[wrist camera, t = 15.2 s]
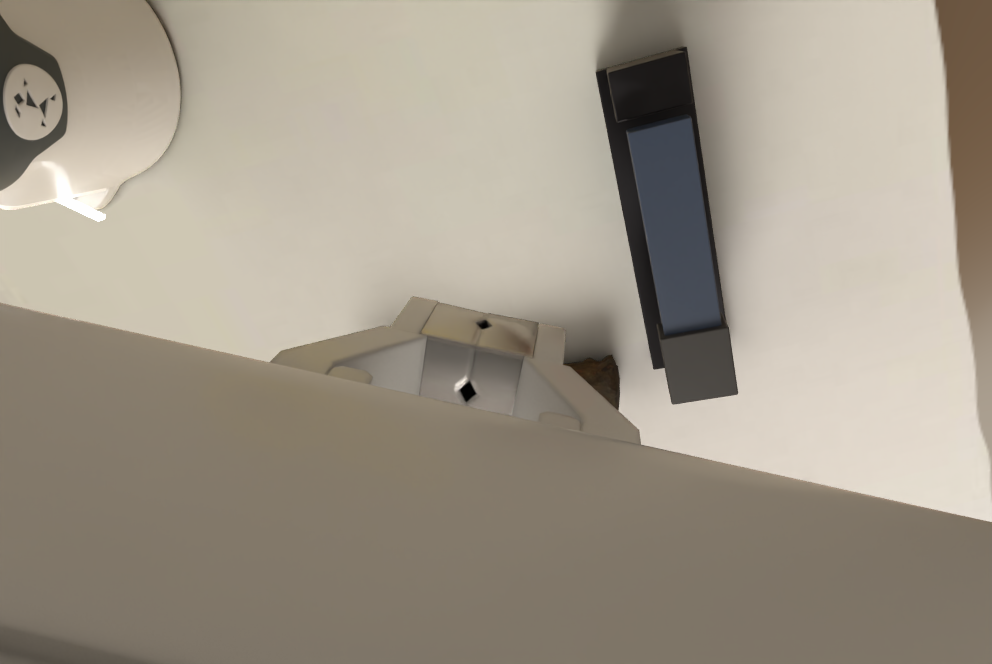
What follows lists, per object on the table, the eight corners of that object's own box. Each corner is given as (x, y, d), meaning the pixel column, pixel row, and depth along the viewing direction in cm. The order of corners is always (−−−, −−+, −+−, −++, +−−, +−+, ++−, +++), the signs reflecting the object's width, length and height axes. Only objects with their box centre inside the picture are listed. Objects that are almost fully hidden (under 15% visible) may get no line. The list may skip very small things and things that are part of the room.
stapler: (727, 349, 45) (744, 388, 40) (652, 362, 46) (659, 401, 41) (683, 46, 37) (698, 47, 32) (595, 71, 39) (595, 75, 34)
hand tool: (617, 346, 46) (620, 376, 42) (619, 395, 47) (621, 429, 43) (365, 353, 49) (344, 382, 45) (374, 399, 51) (354, 431, 46)
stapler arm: (730, 375, 40) (738, 395, 38) (667, 386, 41) (672, 405, 38) (692, 111, 34) (698, 116, 32) (620, 129, 35) (621, 135, 33)
